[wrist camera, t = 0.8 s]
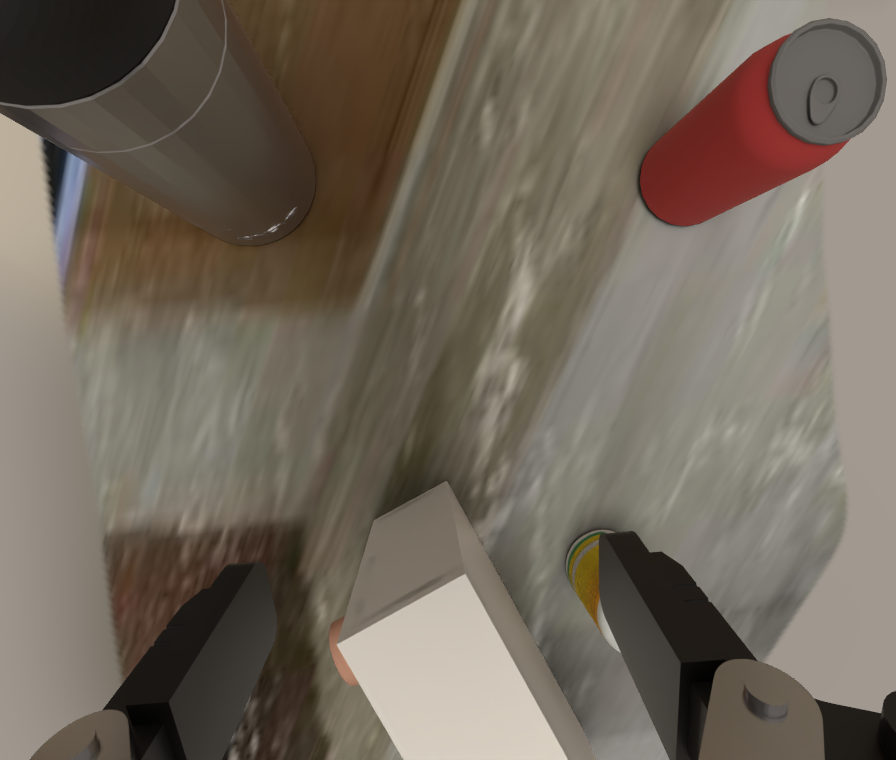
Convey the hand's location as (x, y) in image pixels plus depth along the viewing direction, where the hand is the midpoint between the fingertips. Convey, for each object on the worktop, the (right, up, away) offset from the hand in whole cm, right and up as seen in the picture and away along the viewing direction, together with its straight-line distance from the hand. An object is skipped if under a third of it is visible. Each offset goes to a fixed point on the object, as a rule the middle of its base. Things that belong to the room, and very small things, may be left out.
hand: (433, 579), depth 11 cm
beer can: (+17, +19, +22) cm, 34 cm away
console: (+3, -14, +23) cm, 26 cm away
